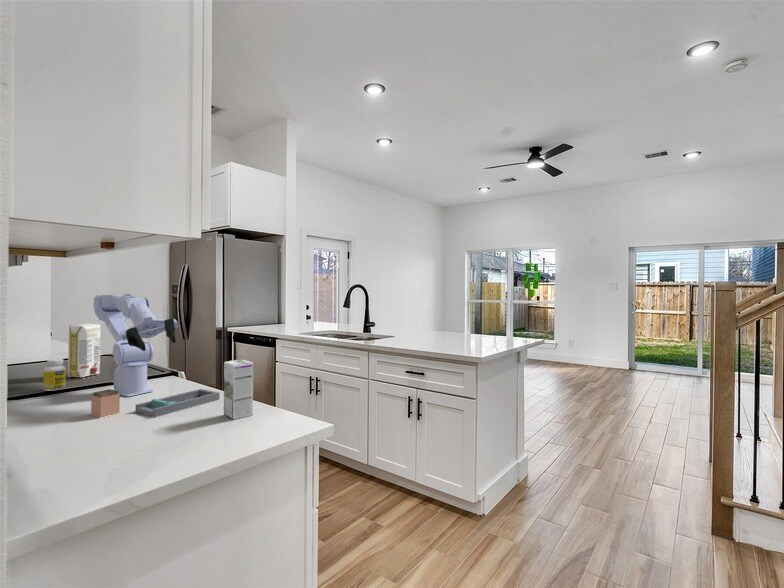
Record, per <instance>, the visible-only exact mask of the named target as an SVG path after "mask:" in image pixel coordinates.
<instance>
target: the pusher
mask: <svg viewBox="0 0 784 588" xmlns="http://www.w3.org/2000/svg"><path fill="white" fill-rule="evenodd" d="M158 399H159V398H158ZM158 399H157V398H154V399H151V401H152V407H151V408H152V409H155V408H159V407H163V406H166V405H170V404H174V403H178V402H175V401H171V402H166V401H162V400H158Z"/></svg>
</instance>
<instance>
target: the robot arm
mask: <svg viewBox="0 0 784 588" xmlns="http://www.w3.org/2000/svg"><path fill="white" fill-rule="evenodd" d="M93 312H94V315H96V317H97V318H98V320H99V321H102V322H104V324H105V326H106V327H107V329H108V331H109V332H110V334H111V335H112V337H113V338H114V340H115V342H114V344H113V347H112V355H113V360H114V363H115V364H116V365H117V366H116V368H115V369H114V372H113V390H115V391H118V394H120V396H122V397H128V398H129V397H133V396H139V395H143V394H148V393H152V392H154V389H151V388H148V365H150V362H152V360H153V359H154V357H155V349H154V346H153V344H152V343H151V342H149V341H147V340H146V339H150V338H154V337H156V336H158V335H160V334H161V333H164V332H165V333H166V337H167V338H168V339H170V341H171V343H173V344H175V343H176V336H175V335H176V329H177V328H179V324H178V321H177V320H176V318H167V319H164V318H163V319H162V318H161V319H160V318H157V317H155V315H154V313H153V312H152V311H151V309H150V302H149V299H148V297H137V296H136V295H132V293H124V294H101V295H99V294H96V295H95V297H94V298H93ZM128 319H130V320H131V322H132V324H133V325H132V326H130V327H129V326H128V325H127V323H126V322H125V321H126V320H128Z"/></svg>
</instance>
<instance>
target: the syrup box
mask: <svg viewBox="0 0 784 588" xmlns="http://www.w3.org/2000/svg"><path fill="white" fill-rule="evenodd" d="M223 415H224V416H226V417H228V418H229V419H231V420H233V419H234V420H239V419H238V418H240V419H243V417H244V418H247V417H253V415H254V362H253V361H248V360H245V359H234V360H229V361H224V362H223Z"/></svg>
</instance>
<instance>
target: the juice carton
mask: <svg viewBox="0 0 784 588" xmlns="http://www.w3.org/2000/svg"><path fill="white" fill-rule="evenodd" d="M67 349H68V354H67V357H68V359H67V361H68V362H67V364H68V365H67V366H68V367H67V371H68V372H67V373H68V376H67V377H69V376H75V377H85V376H89V375H94V374H99V373H101V372H100V370H101V325H100V324H96V323H83V324H78V325H77V324H73V325H72V324H71V325H68V347H67ZM99 375H100V374H99Z"/></svg>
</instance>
